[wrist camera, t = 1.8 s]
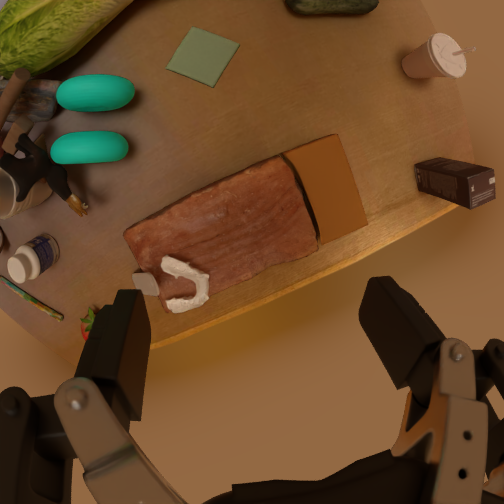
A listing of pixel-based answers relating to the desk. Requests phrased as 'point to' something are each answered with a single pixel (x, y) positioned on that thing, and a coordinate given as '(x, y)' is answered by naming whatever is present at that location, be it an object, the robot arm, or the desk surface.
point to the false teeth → (191, 273)
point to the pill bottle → (33, 258)
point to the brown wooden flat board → (251, 219)
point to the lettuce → (50, 31)
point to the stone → (34, 100)
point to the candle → (6, 190)
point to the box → (456, 181)
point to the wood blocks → (23, 124)
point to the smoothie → (436, 58)
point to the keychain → (146, 283)
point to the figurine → (38, 172)
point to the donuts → (92, 100)
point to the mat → (202, 56)
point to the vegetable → (332, 6)
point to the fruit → (87, 324)
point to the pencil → (31, 299)
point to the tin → (1, 240)
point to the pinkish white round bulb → (0, 149)
